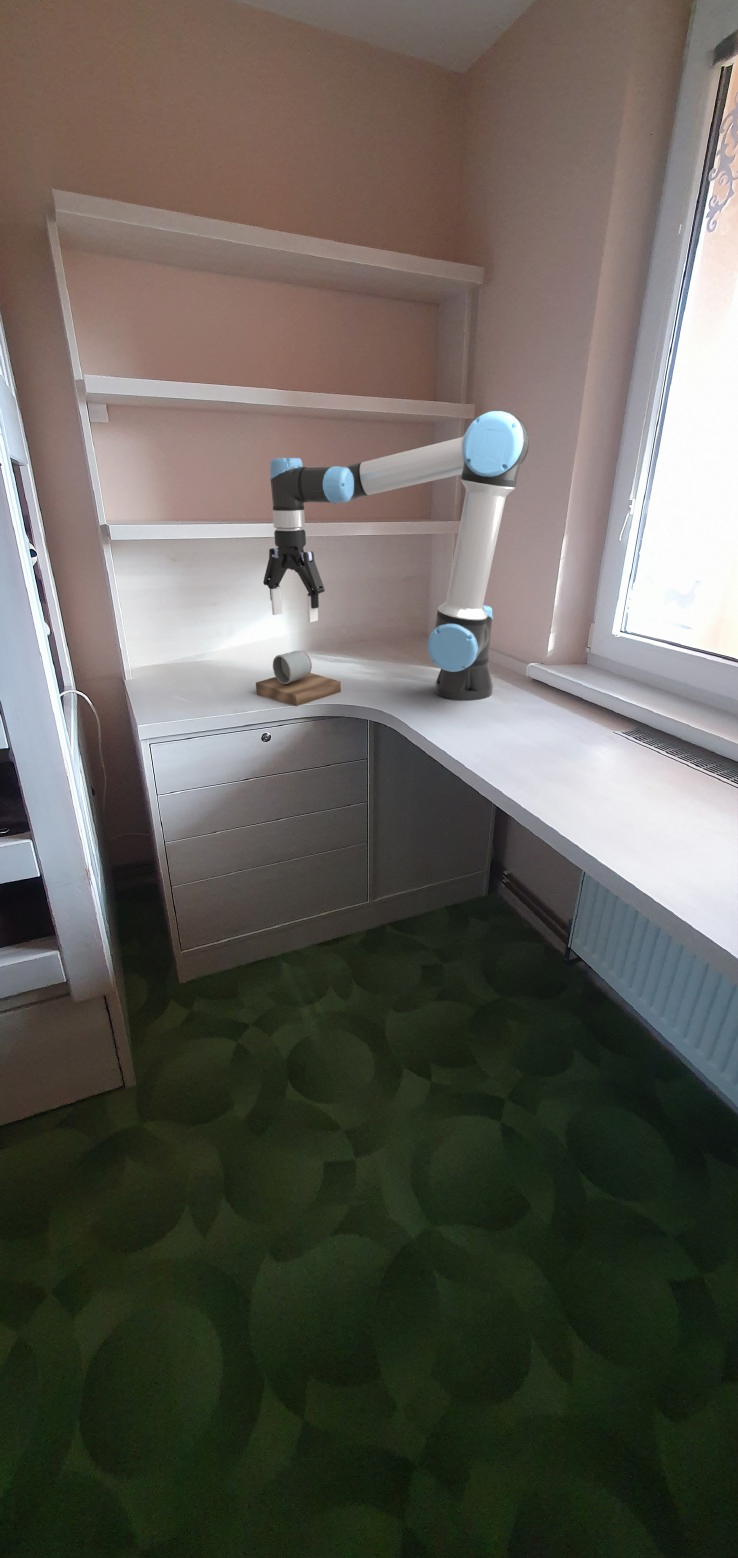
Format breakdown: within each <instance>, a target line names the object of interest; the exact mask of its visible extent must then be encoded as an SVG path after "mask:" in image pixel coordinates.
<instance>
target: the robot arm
mask: <svg viewBox="0 0 738 1558" xmlns="http://www.w3.org/2000/svg"><path fill="white" fill-rule="evenodd" d="M465 431H466V432H465V433H464V434H463V436H461V437H457V438H453V439H449V440H446V441H441V442H438V443H434V444H430V445H425V446H422V447H417V448H414V449H411V450H405V451H402V452H398V453H395V454H394V453H393V454H390V455H386V456H382V457H377V458H374V459H371V460H367V461H363V462H358V463H354V464H353V463H352V464H349V465H345V466H340V465H339V466H338V465H337V466H334V465H333V466H317V467H314V466H313V467H308V466H307V467H306V466H304V465H303V461H302V459H301V458H299V457H276V458H275V457H274V458H272V459H271V461H270V465H269V469H270V470H269V471H270V472H269V473H270V475H269V476H270V479H269V481H270V487H271V499H272V500H271V501H272V522H273V524H272V525H273V528H275V530H274V532H273V534H274V545H275V546H276V547H273V548H269V551H268V557H269V558H268V562H267V565H266V569H265V573H264V578H263V585H264V586H267V588H268V589H269V596H270V598H269V599H270V601H271V611H272V612H271V613H272V615H273V616H277V615H281V614H283V604H282V590H281V586H280V584H281V581H282V580H283V578H284V576H285V574H286V572H287V570H291V571H294V572H295V573H297V574H298V576H299V578H300V580H301V582H302V584H303V586H304V587H305V589H306V590H307V592H308V593H307V595H306V605H307V608H306V611H307V623H314V622H318V621H319V614H318V613H319V612H318V611H319V610H318V609H319V603H320V602H319V601H320V600H319V595H320V594H322V593H325V591H326V590H325V586H324V584H323V580H322V579H321V574H320V573H319V569H318V567H317V564H316V560H315V554H314V551H305V550H304V547H305V546H306V545H307V542H306V541H307V540H306V538H307V537H306V535H307V534H306V530H305V529H303V528H305V527H306V521H305V503H322V504H324V503H327V504H329V503H330V504H331V503H332V504H341V503H347V502H350V501H353V500H357V499H359V498H363V497H367V496H371V495H375V494H380V493H384V492H389V491H393V490H397V489H401V488H406V487H410V486H415V485H420V484H424V483H428V482H433V481H437V480H441V479H447V478H452V477H456V476H459V475H461V476H460V477H461V478H460V481H461V483H462V485H463V487H465V495H464V501H463V504H462V505H463V506H462V511H461V517H460V522H459V529H458V533H457V539H456V544H455V550H454V553H453V554H454V555H453V560H452V565H451V571H450V572H451V573H450V577H449V583H448V588H447V593H446V599H445V601H444V602H443V603H442V604H440V605H438V607H437V613H436V618H435V624H434V628H433V630H432V631H431V633H430V634H429V637H428V641H427V652H428V656H429V658H430V660H431V661H432V662H433V664H434V665H435V666H436V667H438V668H439V669H440V671H439V673H438V676H437V678H436V681H435V688H434V689H435V690H434V692H435V694H437V695H438V696H440V697H442V698H445V699H449V700H454V701H461V702H462V701H465V702H467V701H479V700H484V699H488V698H490V697H491V696H492V695H493V689H494V685H493V680H492V676H491V672H490V671H491V670H490V667H489V658H490V646H491V635H492V625H493V621H494V617H493V608H492V607H491V606H489V605H485V603H484V602H485V596H486V594H487V587H488V583H489V580H490V573H491V570H492V564H493V559H494V554H495V550H496V545H497V540H498V537H499V536H498V535H499V532H500V531H499V530H500V526H501V522H502V516H503V511H504V507H505V504H506V503H505V502H506V498H507V496H508V495H509V494H510V493H511V492H512V491H514V490H515V489H516V485H517V481H518V477H519V471H520V468H521V467H520V466H521V465H522V463H524V461H525V459H526V458H527V456H528V453H529V449H530V442H531V441H530V434H529V430H528V429H527V426H526V425H525V424H524V422H523V421H522V420H521V419H519V418H518V417H517V416H515V415H513V414H511V413H509V412H506V411H502V410H499V411H497V410H493V411H488V412H486V413H483V414H481V415H479V416H478V417H476V419H475V420H473V421H472V422H471V423H470V424H469V426H468V428H467V430H465Z"/></svg>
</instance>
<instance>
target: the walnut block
mask: <svg viewBox="0 0 738 1558" xmlns="http://www.w3.org/2000/svg"><path fill="white" fill-rule="evenodd" d="M341 684H342V683H341V681H340V680H337V679H333V678H330V677H326V676H323V675H320V674H317V673H316V674H315V673H313V672H310V674H309V675H307V676H306V677H304V678H301V679H298V680H296V681H293V682H291V683H288V684H283V683H281V682H279V681H278V679H277V678H276V676H274V677H270V678H266V679H263V680H260V681H256V682H255V687H256V690H255V691H256V695H257V696H261V697H265V698H267V699H271V700H274V701H277V702H280V703H284V704H288V705H290V706H291V705H292V706H295V707H299V706H303V705H305V704H308V703H311V702H314V701H318V700H320V699H323V698H326V697H329V696H332V695H335V694H338V693H341V691H342V690H341V689H342V688H341V686H342V685H341Z"/></svg>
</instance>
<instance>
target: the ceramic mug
mask: <svg viewBox="0 0 738 1558" xmlns="http://www.w3.org/2000/svg"><path fill="white" fill-rule="evenodd" d="M312 665H313V664H312V661H311V658H310V656H309V655H308V654H307V652H306V651H304V650H294V651H290V652H286V653H283V654H282V653H281V654H278V655H275V656H274V658H273V660H272V670H273V674H274V677H276V678H277V679H278V681H279V682H281V683H283V684H288V683H291V682H293V681H296V680H298V679H301V678H304V677H306V676H307V675H309V674H310V673H312V670H313V669H312V668H313V667H312Z"/></svg>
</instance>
